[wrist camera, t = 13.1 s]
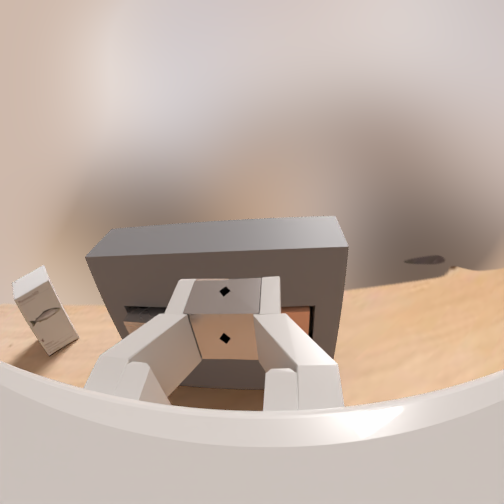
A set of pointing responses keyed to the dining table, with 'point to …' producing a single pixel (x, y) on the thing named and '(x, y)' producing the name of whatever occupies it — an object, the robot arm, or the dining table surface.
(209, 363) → the panel
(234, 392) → the dining table surface
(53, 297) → the supplement box
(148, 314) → the grey button
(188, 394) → the dining table surface
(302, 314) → the button terracotta
